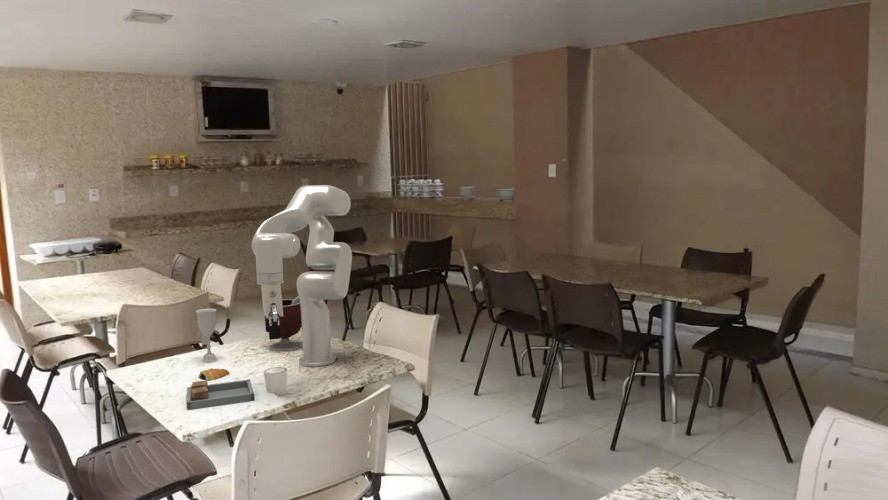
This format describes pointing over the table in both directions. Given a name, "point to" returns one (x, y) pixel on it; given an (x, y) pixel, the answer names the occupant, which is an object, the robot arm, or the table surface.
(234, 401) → the tray
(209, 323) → the chalice
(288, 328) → the mate gourd
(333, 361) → the robot arm
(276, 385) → the shot glass
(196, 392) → the walnut block
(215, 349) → the table surface
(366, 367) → the table surface
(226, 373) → the pastry
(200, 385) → the walnut block
